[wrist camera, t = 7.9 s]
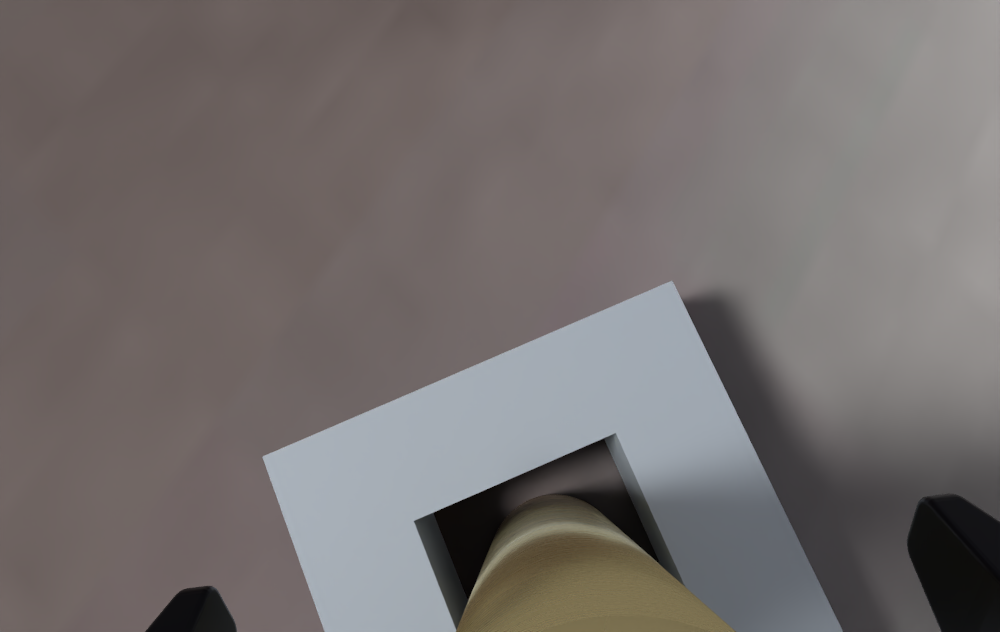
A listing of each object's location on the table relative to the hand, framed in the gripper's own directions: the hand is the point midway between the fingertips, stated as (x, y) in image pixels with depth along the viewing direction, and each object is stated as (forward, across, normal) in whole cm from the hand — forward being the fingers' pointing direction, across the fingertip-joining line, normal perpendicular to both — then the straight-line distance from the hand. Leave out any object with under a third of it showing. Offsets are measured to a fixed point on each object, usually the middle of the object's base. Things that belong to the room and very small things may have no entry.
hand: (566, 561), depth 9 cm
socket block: (+6, 0, +8) cm, 10 cm away
